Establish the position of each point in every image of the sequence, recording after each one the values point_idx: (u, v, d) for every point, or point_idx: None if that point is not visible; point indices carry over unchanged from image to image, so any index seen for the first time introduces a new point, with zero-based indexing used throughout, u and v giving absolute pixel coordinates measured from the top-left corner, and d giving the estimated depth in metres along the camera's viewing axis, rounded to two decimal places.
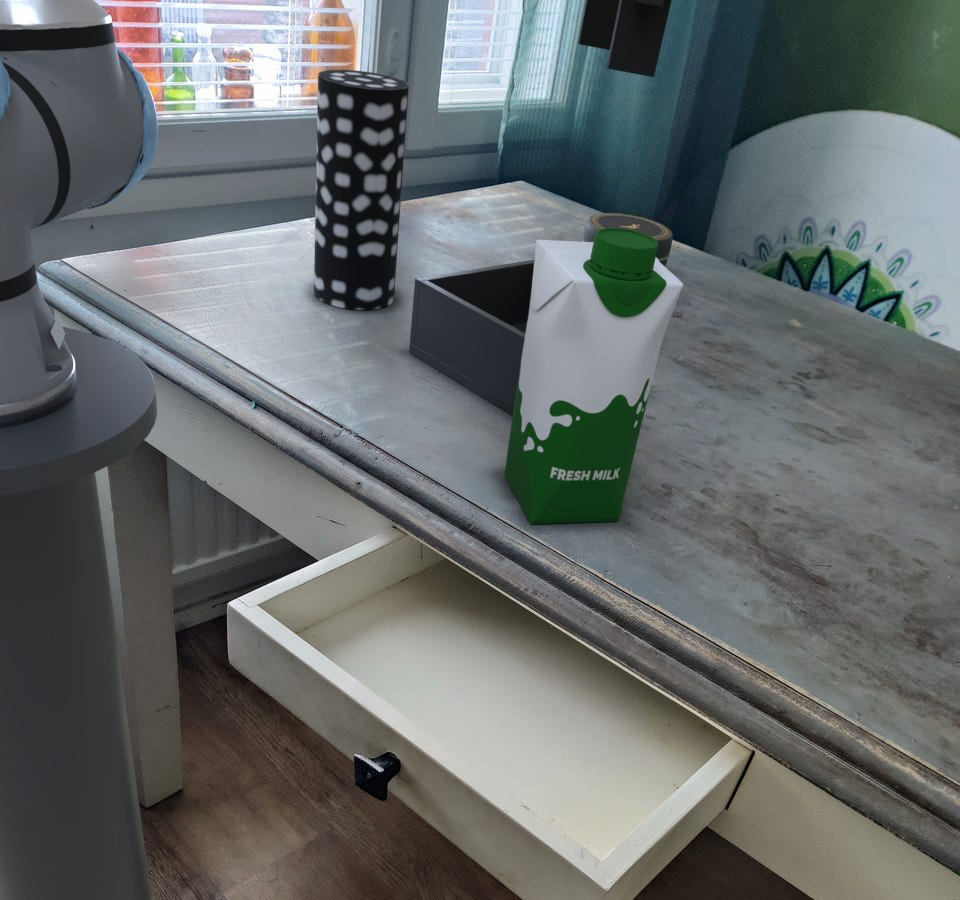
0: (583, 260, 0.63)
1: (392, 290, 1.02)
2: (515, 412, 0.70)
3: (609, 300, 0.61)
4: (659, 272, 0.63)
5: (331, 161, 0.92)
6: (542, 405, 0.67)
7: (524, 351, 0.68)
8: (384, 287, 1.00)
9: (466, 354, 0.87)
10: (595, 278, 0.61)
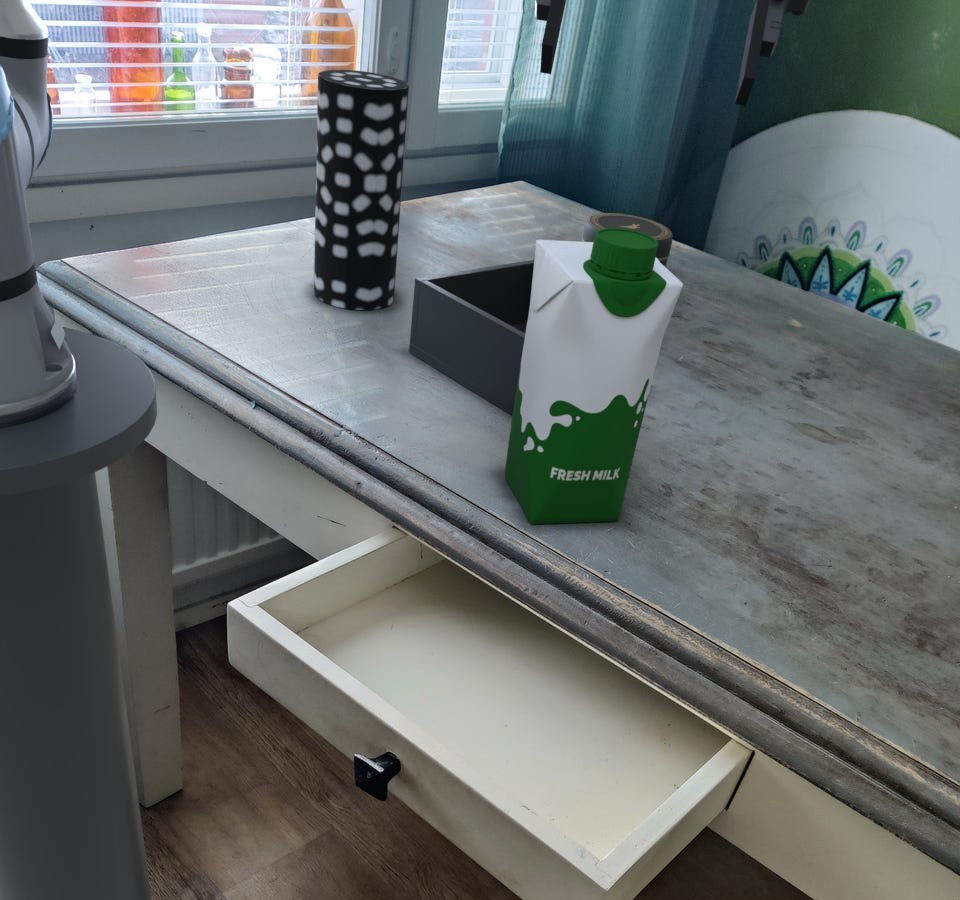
0: (583, 260, 0.63)
1: (392, 290, 1.02)
2: (515, 412, 0.70)
3: (609, 300, 0.61)
4: (659, 272, 0.63)
5: (332, 161, 0.92)
6: (542, 405, 0.67)
7: (524, 351, 0.68)
8: (384, 287, 1.00)
9: (466, 354, 0.87)
10: (595, 278, 0.61)
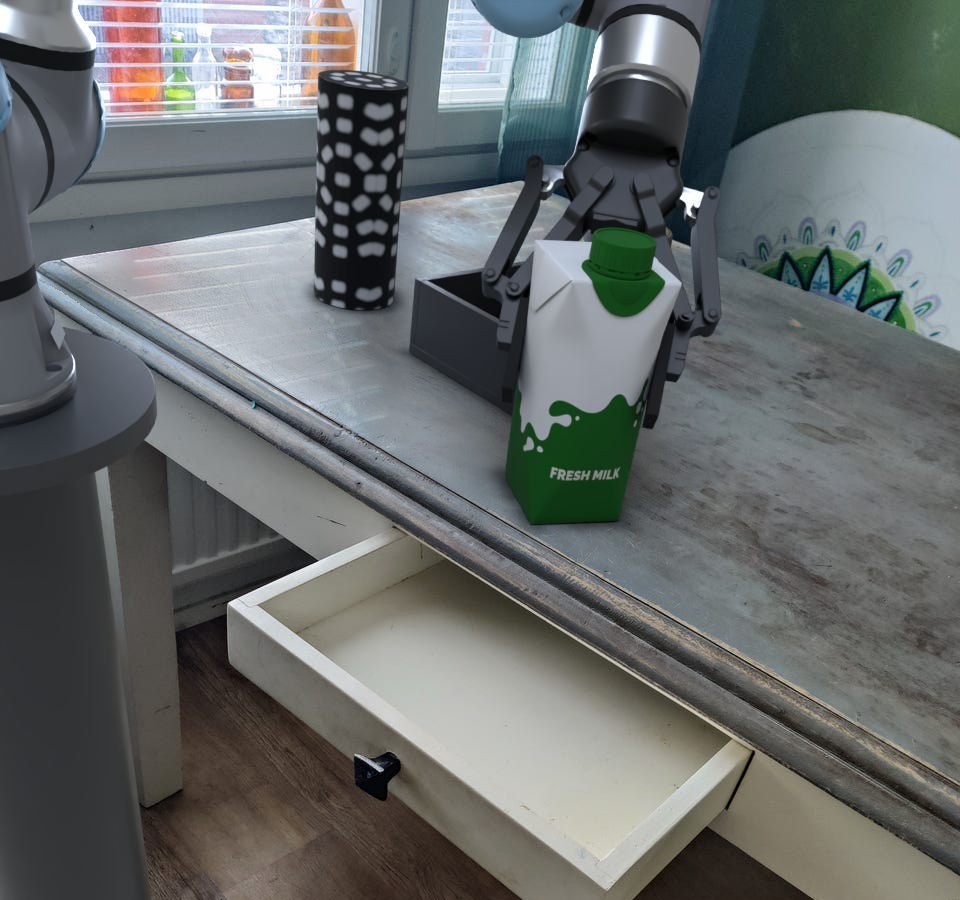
0: (582, 260, 0.63)
1: (392, 290, 1.02)
2: (515, 412, 0.70)
3: (608, 299, 0.61)
4: (658, 271, 0.63)
5: (332, 161, 0.92)
6: (541, 405, 0.67)
7: (523, 351, 0.68)
8: (384, 287, 1.00)
9: (466, 354, 0.87)
10: (593, 278, 0.61)
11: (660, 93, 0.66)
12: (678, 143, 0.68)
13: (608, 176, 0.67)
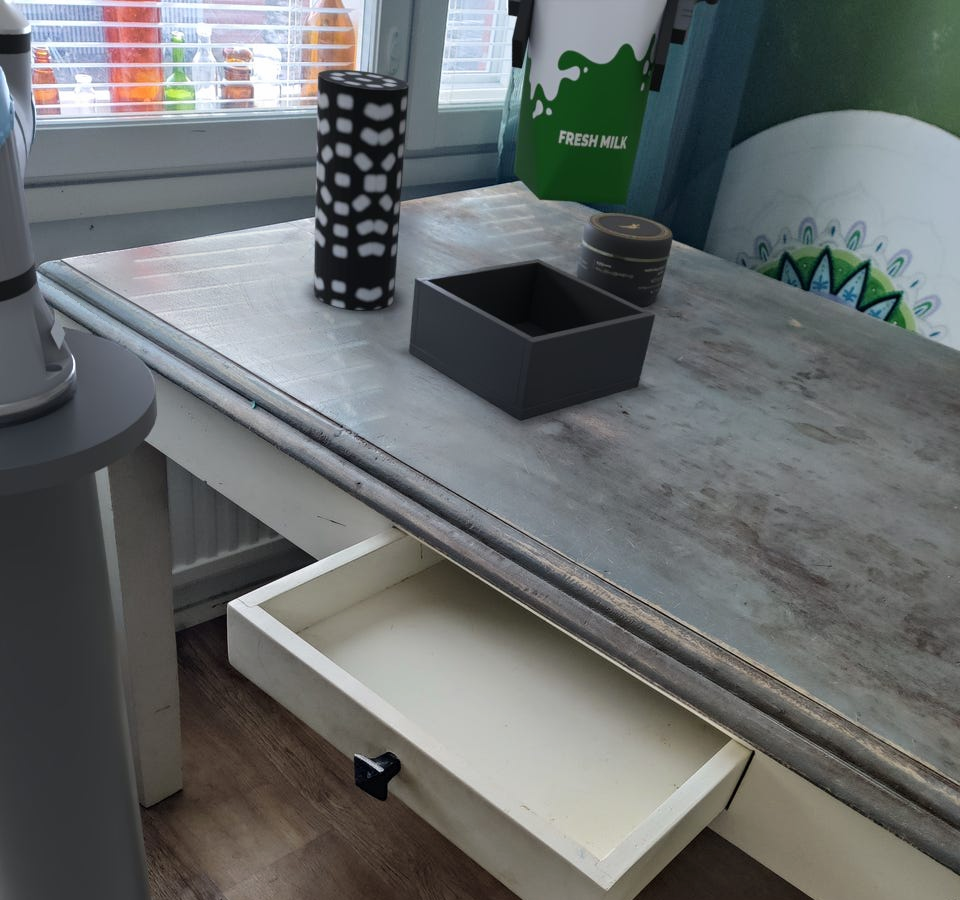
0: None
1: (392, 290, 1.02)
2: (524, 85, 0.72)
3: None
4: None
5: (331, 161, 0.92)
6: (550, 60, 0.68)
7: (533, 13, 0.69)
8: (384, 287, 1.00)
9: (466, 354, 0.87)
10: None
11: None
12: None
13: None
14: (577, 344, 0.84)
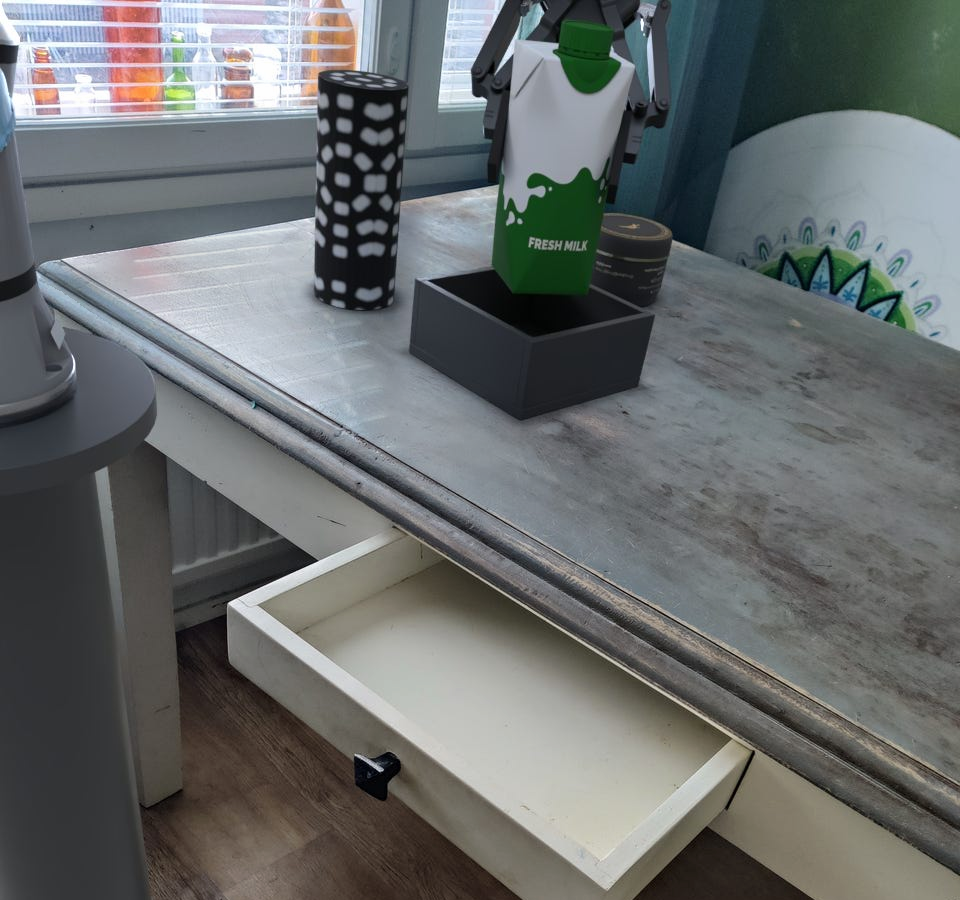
0: (553, 49, 0.76)
1: (392, 290, 1.02)
2: (499, 195, 0.84)
3: (573, 76, 0.74)
4: (616, 59, 0.76)
5: (331, 161, 0.92)
6: (520, 180, 0.80)
7: (505, 137, 0.81)
8: (384, 287, 1.00)
9: (466, 354, 0.87)
10: (561, 56, 0.74)
11: None
12: None
13: None
14: (577, 344, 0.84)
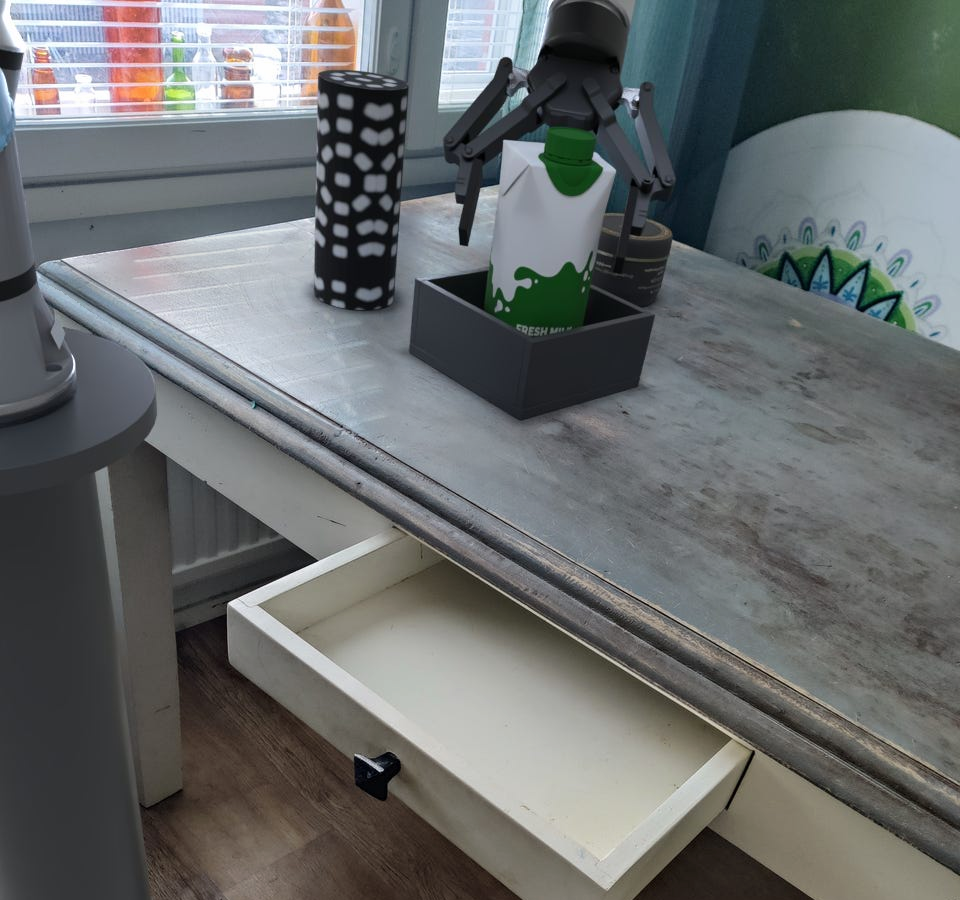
0: (539, 153, 0.81)
1: (392, 290, 1.02)
2: (488, 283, 0.88)
3: (558, 181, 0.79)
4: (598, 162, 0.81)
5: (332, 161, 0.92)
6: (508, 272, 0.84)
7: (494, 230, 0.85)
8: (384, 287, 1.00)
9: (466, 354, 0.87)
10: (546, 163, 0.78)
11: (603, 13, 0.83)
12: (618, 54, 0.85)
13: (561, 80, 0.84)
14: (577, 344, 0.84)
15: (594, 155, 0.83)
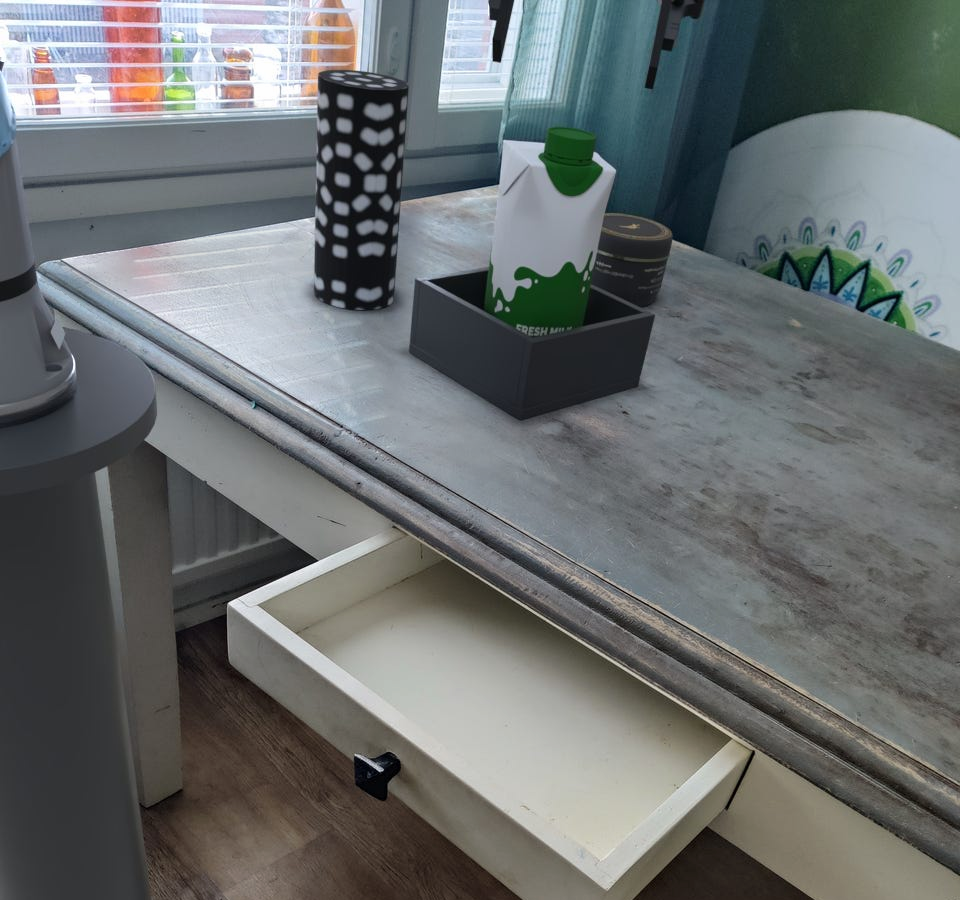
0: (539, 153, 0.81)
1: (392, 290, 1.02)
2: (488, 283, 0.88)
3: (558, 181, 0.79)
4: (598, 162, 0.81)
5: (331, 161, 0.92)
6: (508, 272, 0.84)
7: (494, 230, 0.85)
8: (384, 287, 1.00)
9: (466, 354, 0.87)
10: (546, 163, 0.78)
11: None
12: None
13: None
14: (577, 344, 0.84)
15: (594, 155, 0.83)
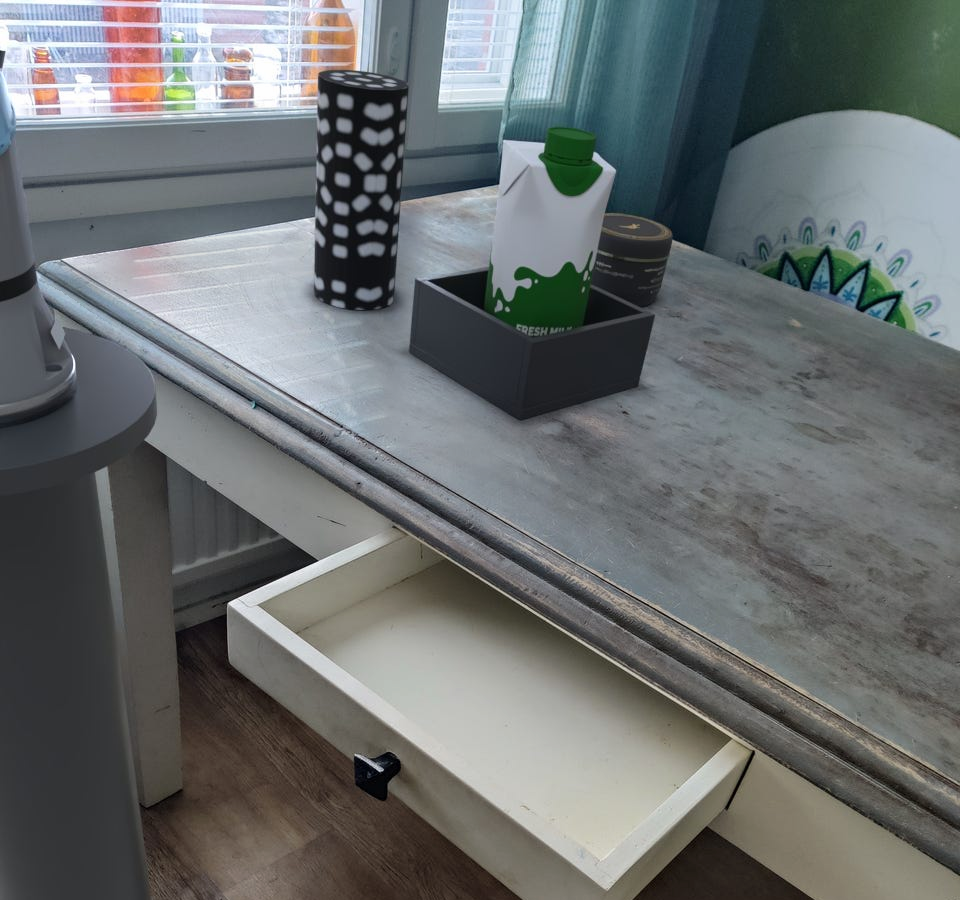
0: (539, 153, 0.81)
1: (392, 290, 1.02)
2: (488, 283, 0.88)
3: (558, 181, 0.79)
4: (598, 162, 0.81)
5: (331, 161, 0.92)
6: (508, 272, 0.84)
7: (494, 230, 0.85)
8: (384, 287, 1.00)
9: (466, 354, 0.87)
10: (546, 163, 0.78)
11: None
12: None
13: None
14: (577, 344, 0.84)
15: (594, 155, 0.83)
